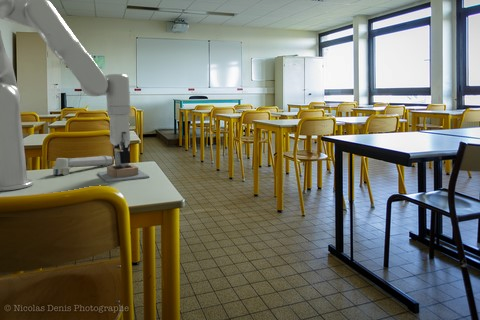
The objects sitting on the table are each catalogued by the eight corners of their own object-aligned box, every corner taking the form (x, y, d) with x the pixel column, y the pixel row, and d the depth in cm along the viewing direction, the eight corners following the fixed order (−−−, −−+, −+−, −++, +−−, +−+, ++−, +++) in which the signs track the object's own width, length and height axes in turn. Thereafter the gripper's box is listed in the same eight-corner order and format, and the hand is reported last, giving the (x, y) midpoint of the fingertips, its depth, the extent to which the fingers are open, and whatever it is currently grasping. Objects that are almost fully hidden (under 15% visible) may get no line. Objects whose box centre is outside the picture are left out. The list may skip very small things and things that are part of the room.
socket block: (106, 182, 128) (106, 173, 127) (97, 173, 141) (96, 165, 141) (149, 177, 134) (148, 168, 134) (136, 169, 148) (136, 161, 148)
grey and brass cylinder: (117, 175, 135) (115, 149, 133) (114, 173, 139) (113, 148, 137) (130, 174, 137) (129, 148, 135) (127, 172, 141) (125, 147, 139)
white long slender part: (115, 155, 158) (58, 156, 137) (114, 172, 158) (57, 175, 137) (106, 154, 161) (49, 155, 139) (105, 171, 161) (48, 173, 140)
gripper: (102, 110, 140) (105, 158, 143) (113, 112, 125) (116, 166, 128) (124, 110, 143) (126, 156, 146) (137, 112, 129) (139, 163, 131)
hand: (121, 161), depth 137 cm, fingers open, 9 cm apart
